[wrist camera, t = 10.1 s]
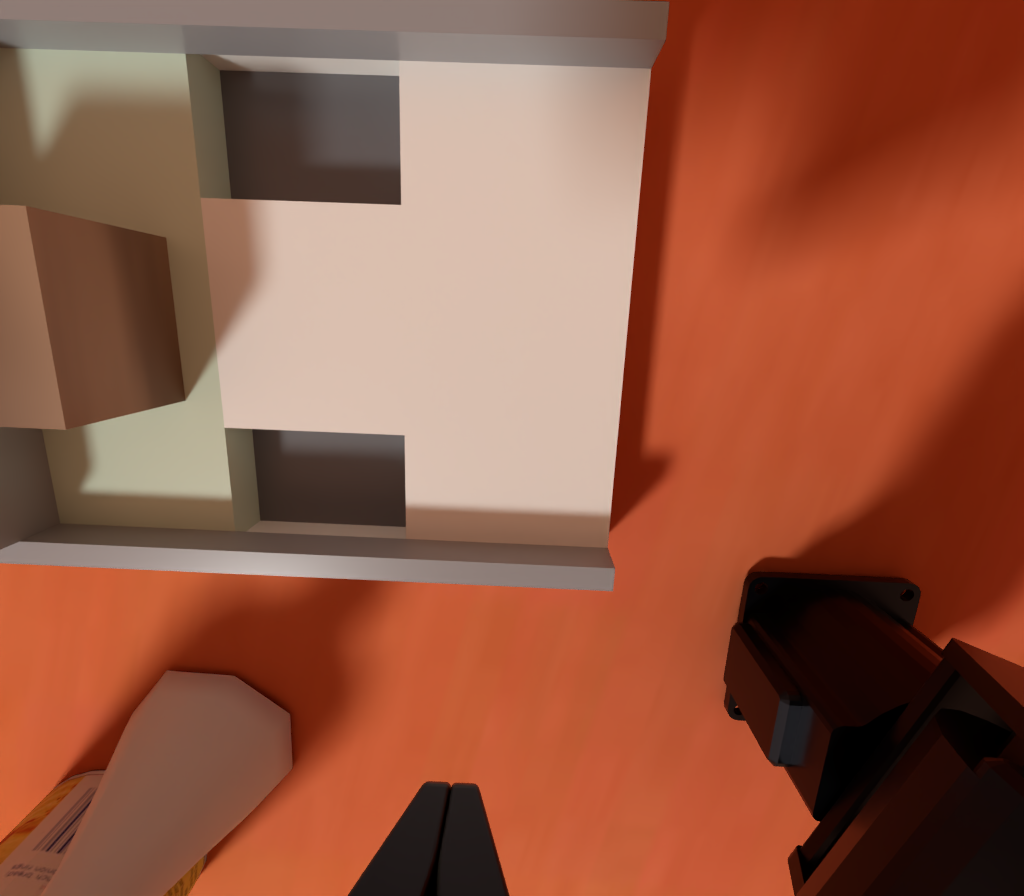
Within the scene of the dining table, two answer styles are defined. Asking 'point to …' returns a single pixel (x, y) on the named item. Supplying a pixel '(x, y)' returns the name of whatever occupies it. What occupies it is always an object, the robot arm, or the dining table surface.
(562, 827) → the dining table surface
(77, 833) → the flask
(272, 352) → the box
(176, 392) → the walnut block
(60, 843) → the canned food
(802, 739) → the robot arm
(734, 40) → the dining table surface
